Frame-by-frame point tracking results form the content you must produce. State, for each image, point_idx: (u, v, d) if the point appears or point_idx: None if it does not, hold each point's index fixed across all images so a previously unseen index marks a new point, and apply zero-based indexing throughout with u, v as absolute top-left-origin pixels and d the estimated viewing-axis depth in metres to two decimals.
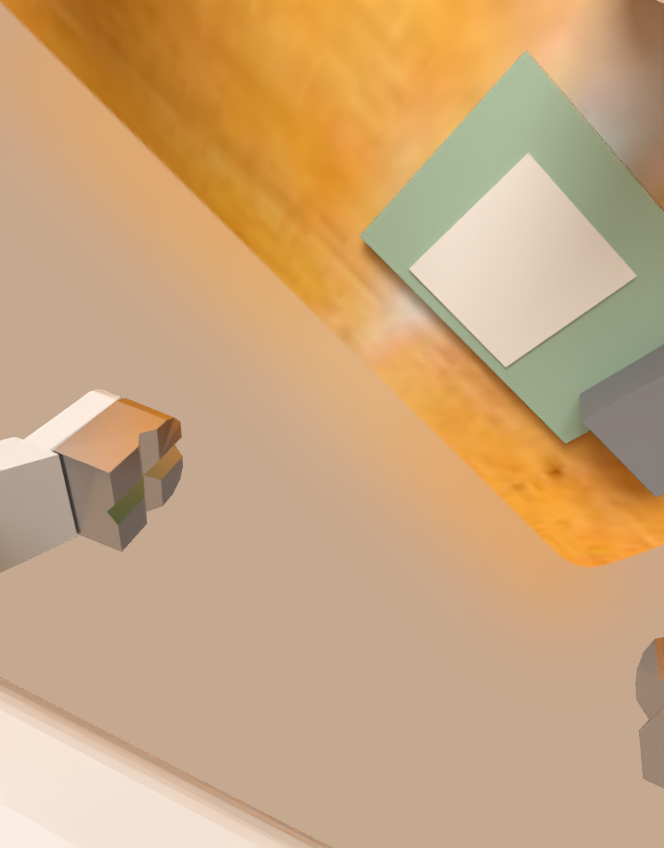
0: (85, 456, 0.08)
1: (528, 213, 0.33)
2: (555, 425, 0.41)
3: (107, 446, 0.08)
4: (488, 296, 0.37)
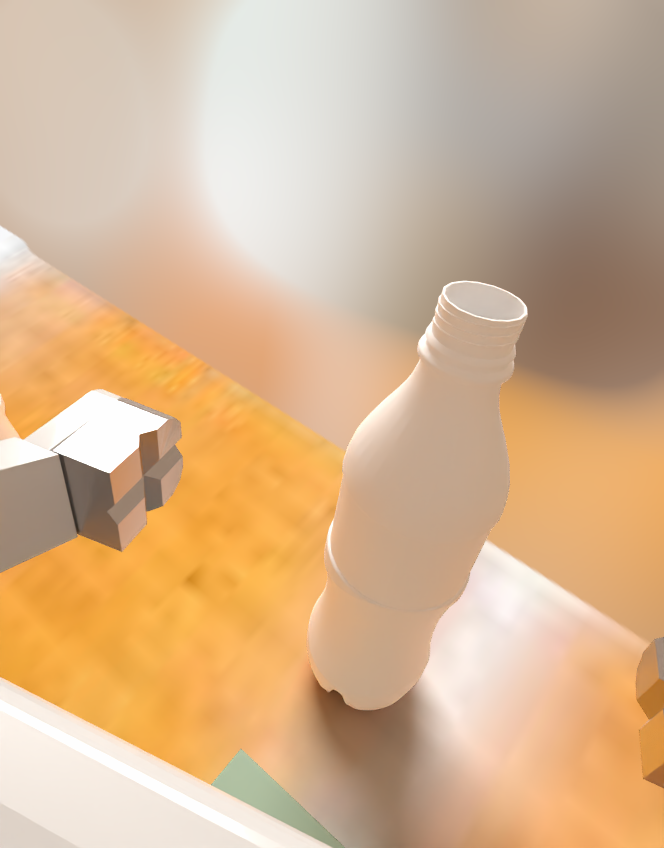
0: (85, 456, 0.08)
1: None
2: None
3: (107, 446, 0.08)
4: None
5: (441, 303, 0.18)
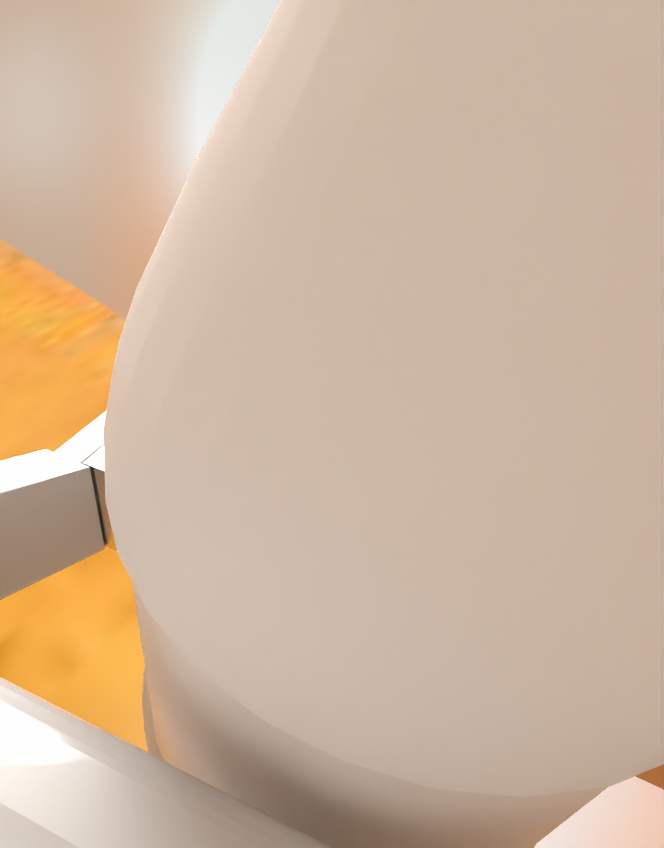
0: None
1: None
2: None
3: None
4: None
5: None
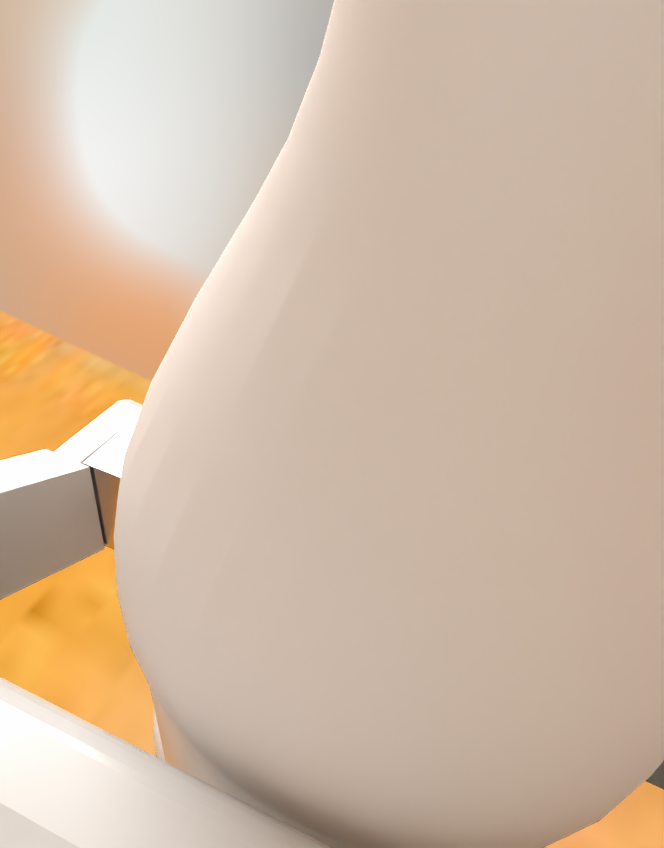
0: (116, 469, 0.08)
1: None
2: None
3: None
4: None
5: None
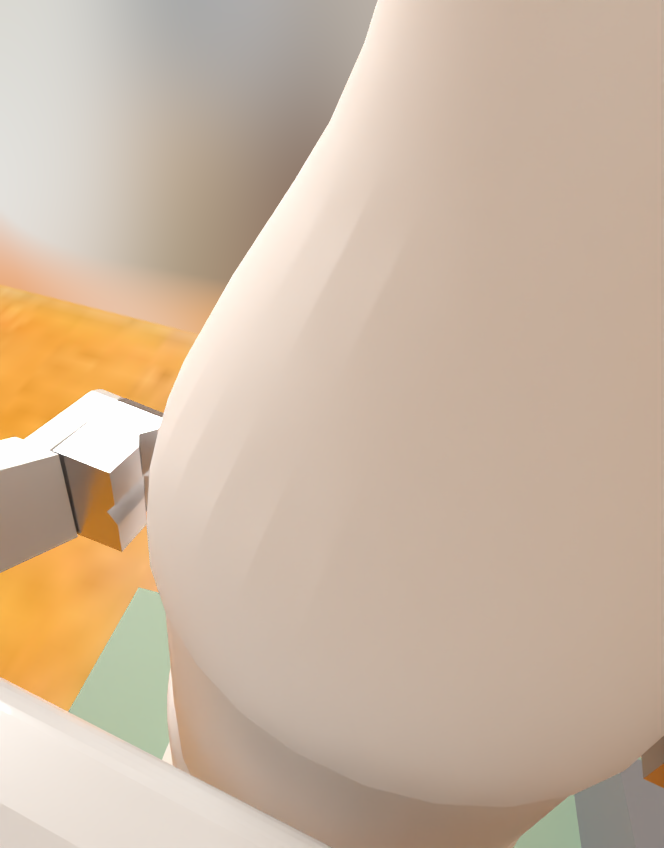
0: (85, 456, 0.08)
1: None
2: None
3: (107, 446, 0.08)
4: None
5: None
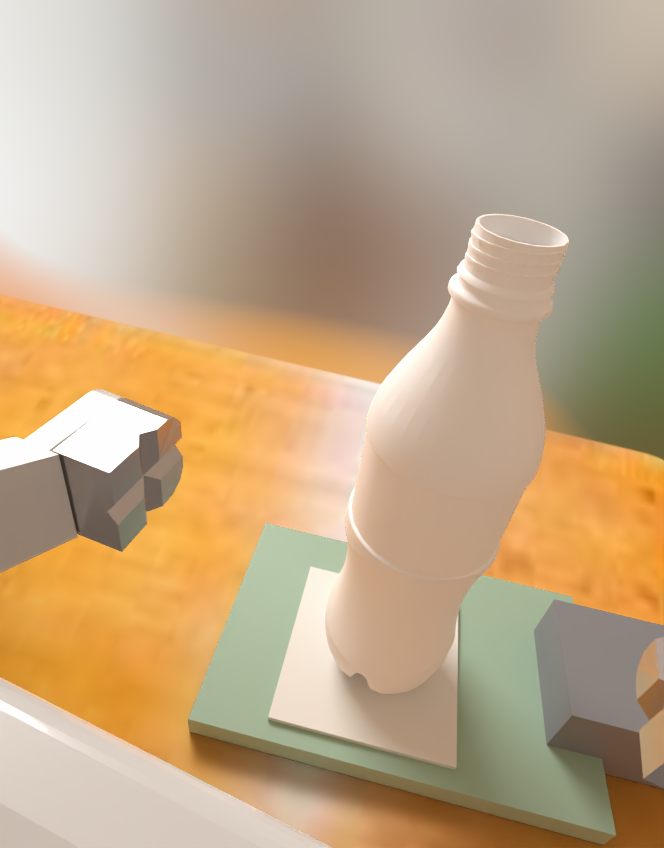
0: (85, 456, 0.08)
1: None
2: (578, 814, 0.27)
3: (107, 446, 0.08)
4: (369, 692, 0.30)
5: (476, 234, 0.17)
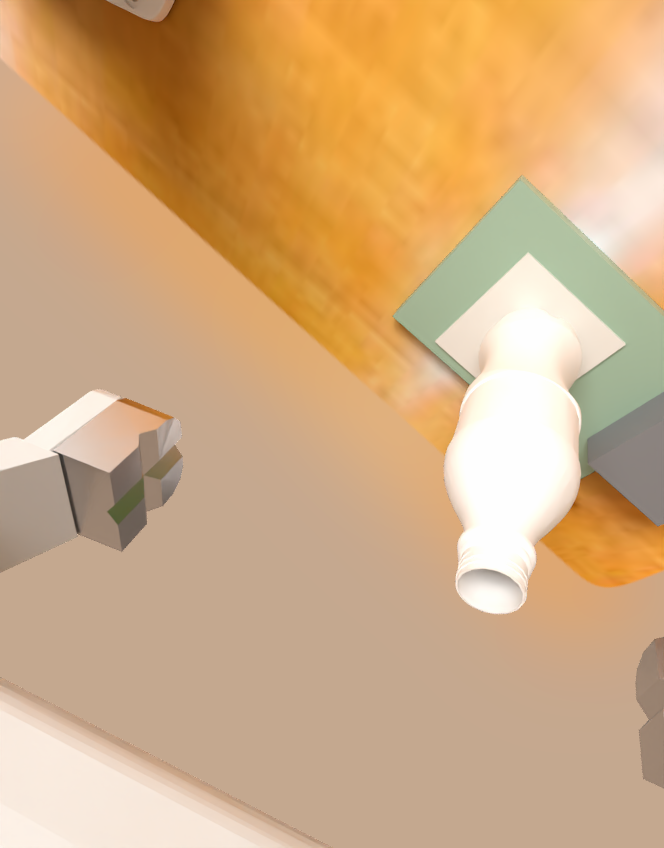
0: (85, 456, 0.08)
1: (531, 297, 0.41)
2: None
3: (107, 446, 0.08)
4: None
5: (459, 571, 0.24)
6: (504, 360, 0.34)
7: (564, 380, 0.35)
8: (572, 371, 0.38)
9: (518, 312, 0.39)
